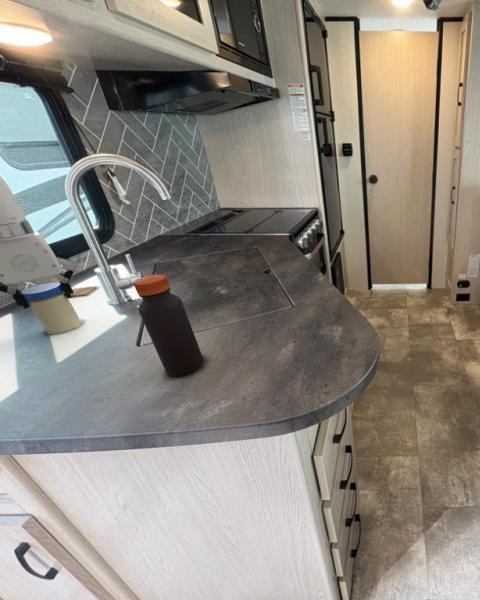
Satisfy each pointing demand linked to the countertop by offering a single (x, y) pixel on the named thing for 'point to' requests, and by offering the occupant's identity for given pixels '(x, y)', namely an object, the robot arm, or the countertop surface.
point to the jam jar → (55, 314)
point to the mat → (82, 291)
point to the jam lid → (42, 291)
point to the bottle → (168, 326)
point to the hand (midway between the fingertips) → (48, 301)
